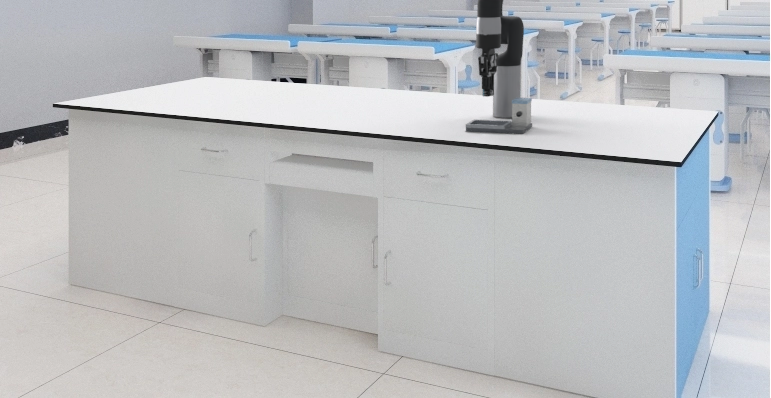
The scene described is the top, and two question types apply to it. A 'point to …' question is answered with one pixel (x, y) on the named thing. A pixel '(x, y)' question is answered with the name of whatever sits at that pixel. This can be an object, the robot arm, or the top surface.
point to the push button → (490, 83)
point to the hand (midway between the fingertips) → (487, 88)
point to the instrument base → (516, 126)
